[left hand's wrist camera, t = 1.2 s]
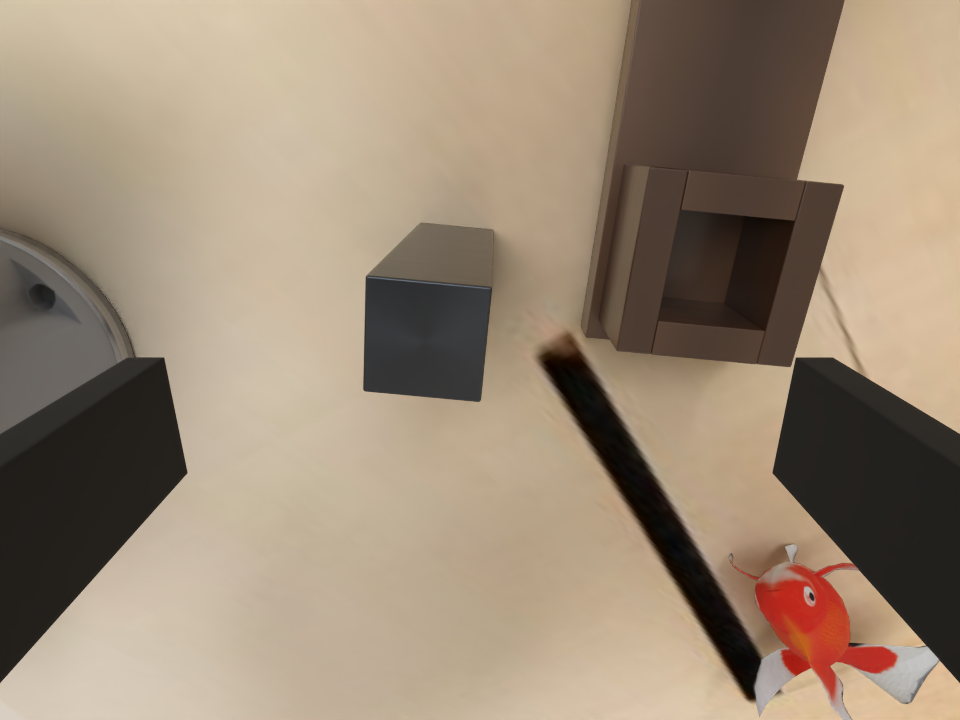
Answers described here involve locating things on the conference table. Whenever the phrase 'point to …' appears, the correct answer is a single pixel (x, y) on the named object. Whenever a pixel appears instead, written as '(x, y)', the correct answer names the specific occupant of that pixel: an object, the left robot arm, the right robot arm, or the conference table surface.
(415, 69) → the conference table surface
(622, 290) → the holder
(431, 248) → the peg
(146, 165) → the conference table surface
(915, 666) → the fish
